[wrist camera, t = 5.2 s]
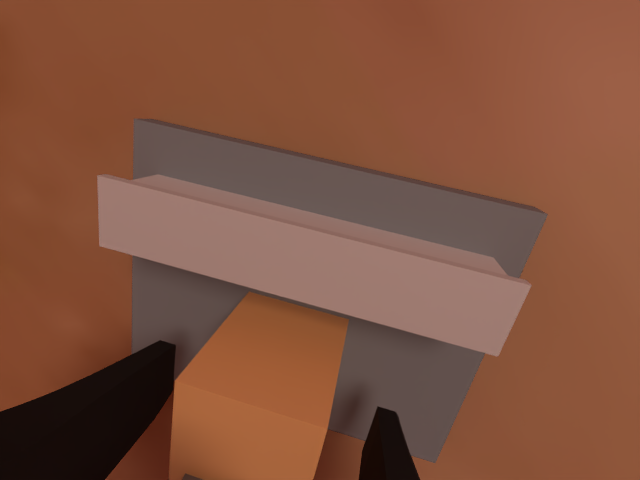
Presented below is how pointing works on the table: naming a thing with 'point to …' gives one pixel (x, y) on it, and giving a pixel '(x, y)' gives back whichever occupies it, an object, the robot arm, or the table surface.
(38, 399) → the robot arm
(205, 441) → the block
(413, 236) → the board
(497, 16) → the table surface
